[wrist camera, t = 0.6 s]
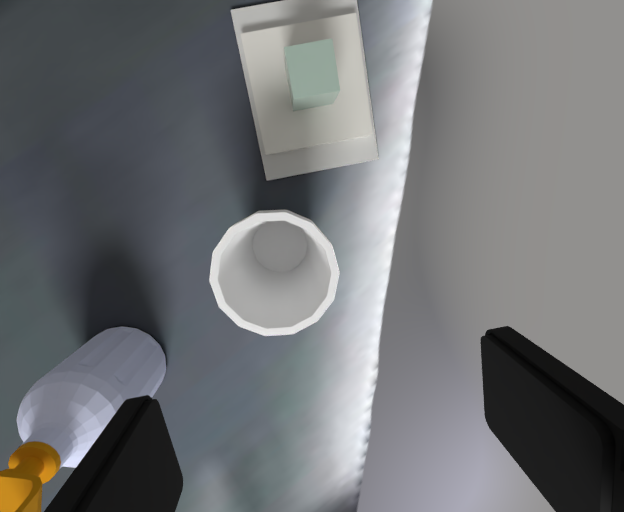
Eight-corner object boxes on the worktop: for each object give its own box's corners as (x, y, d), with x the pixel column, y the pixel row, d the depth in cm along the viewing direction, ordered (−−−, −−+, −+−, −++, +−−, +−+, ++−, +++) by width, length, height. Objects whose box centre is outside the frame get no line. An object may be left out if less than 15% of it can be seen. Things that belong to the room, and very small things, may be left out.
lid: (241, 38, 33) (231, 6, 27) (354, 17, 33) (368, -19, 27) (266, 155, 35) (261, 149, 29) (370, 135, 35) (386, 126, 29)
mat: (231, 11, 33) (230, 9, 32) (354, -11, 33) (355, -13, 32) (266, 180, 36) (266, 180, 36) (377, 159, 36) (378, 159, 36)
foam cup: (336, 222, 37) (359, 243, 25) (303, 297, 39) (310, 352, 26) (255, 188, 36) (235, 191, 23) (224, 266, 38) (191, 309, 25)
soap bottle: (88, 319, 38) (-256, 553, 14) (172, 331, 39) (-18, 571, 15) (83, 390, 40) (-230, 706, 16) (163, 400, 41) (-18, 714, 17)
